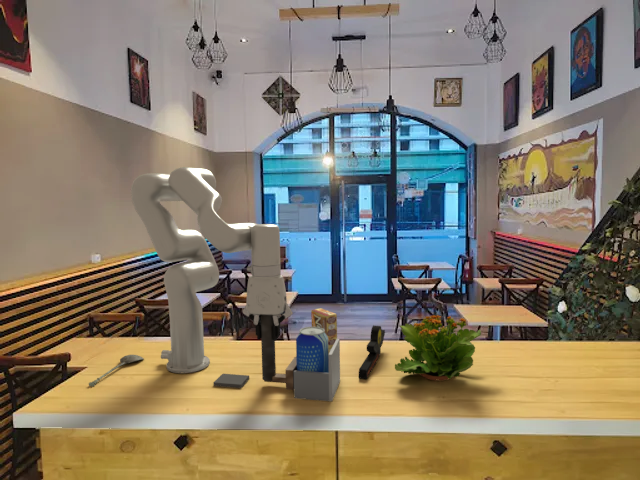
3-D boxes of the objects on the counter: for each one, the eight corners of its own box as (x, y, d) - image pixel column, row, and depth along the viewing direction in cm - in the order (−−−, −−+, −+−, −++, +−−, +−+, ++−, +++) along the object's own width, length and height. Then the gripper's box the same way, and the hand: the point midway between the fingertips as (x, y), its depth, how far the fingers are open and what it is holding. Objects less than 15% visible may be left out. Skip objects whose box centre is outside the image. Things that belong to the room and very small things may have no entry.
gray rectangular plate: (213, 385, 117) (213, 382, 117) (222, 376, 123) (222, 373, 123) (241, 388, 115) (241, 384, 115) (249, 378, 121) (249, 375, 121)
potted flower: (397, 355, 138) (397, 301, 136) (474, 359, 133) (476, 304, 131) (394, 389, 113) (394, 324, 112) (489, 396, 109) (491, 328, 107)
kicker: (257, 387, 113) (255, 317, 111) (268, 373, 122) (266, 308, 120) (293, 389, 111) (291, 319, 109) (301, 375, 120) (300, 310, 118)
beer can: (291, 392, 112) (290, 332, 111) (306, 380, 120) (305, 324, 118) (320, 398, 109) (319, 337, 107) (333, 385, 116) (333, 327, 115)
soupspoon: (148, 361, 139) (130, 361, 140) (147, 351, 139) (129, 350, 140) (101, 388, 117) (80, 387, 118) (100, 376, 117) (79, 375, 118)
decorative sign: (378, 347, 145) (378, 318, 144) (384, 348, 145) (384, 318, 144) (358, 379, 120) (358, 344, 119) (366, 380, 119) (366, 345, 118)
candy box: (338, 362, 133) (337, 313, 131) (327, 365, 130) (326, 315, 129) (322, 353, 140) (321, 307, 138) (311, 356, 138) (310, 309, 136)
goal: (294, 398, 109) (293, 352, 108) (305, 378, 121) (304, 336, 120) (332, 401, 107) (331, 354, 106) (340, 380, 119) (339, 338, 118)
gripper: (231, 272, 112) (233, 341, 114) (292, 274, 108) (294, 345, 110) (242, 268, 119) (244, 332, 121) (300, 269, 116) (301, 335, 118)
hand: (268, 337), depth 116 cm, fingers closed on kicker, 3 cm apart
